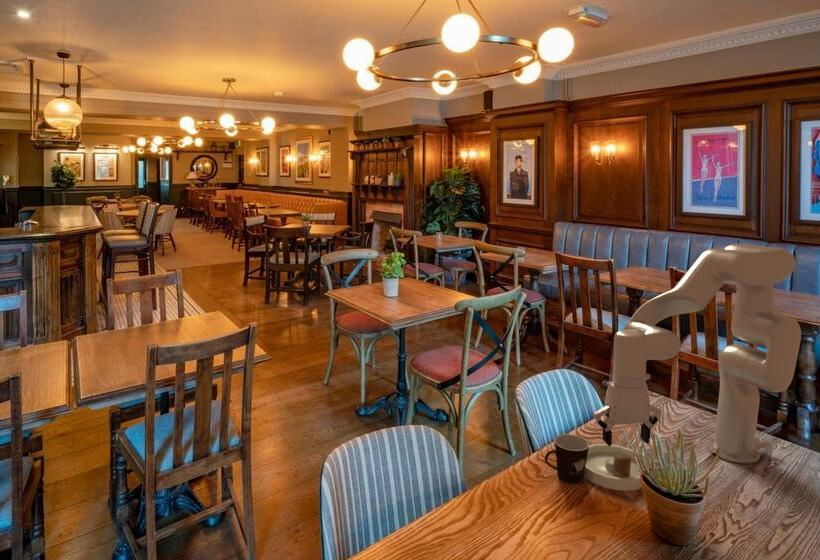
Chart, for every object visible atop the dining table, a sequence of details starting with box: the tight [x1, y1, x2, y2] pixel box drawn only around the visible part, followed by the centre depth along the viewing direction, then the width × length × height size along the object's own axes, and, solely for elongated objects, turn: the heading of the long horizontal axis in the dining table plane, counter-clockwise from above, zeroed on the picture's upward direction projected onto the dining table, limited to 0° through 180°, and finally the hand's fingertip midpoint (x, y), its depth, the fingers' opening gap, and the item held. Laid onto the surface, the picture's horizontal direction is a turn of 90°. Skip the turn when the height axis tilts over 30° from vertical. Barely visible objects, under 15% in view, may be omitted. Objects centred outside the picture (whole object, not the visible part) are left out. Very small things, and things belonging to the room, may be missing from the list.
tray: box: [583, 443, 642, 492], centre depth 136 cm, size 18×18×3 cm
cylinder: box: [613, 453, 631, 478], centre depth 131 cm, size 4×4×6 cm
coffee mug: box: [544, 433, 590, 485], centre depth 133 cm, size 12×9×10 cm
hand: (626, 442), depth 130 cm, fingers open, 9 cm apart
